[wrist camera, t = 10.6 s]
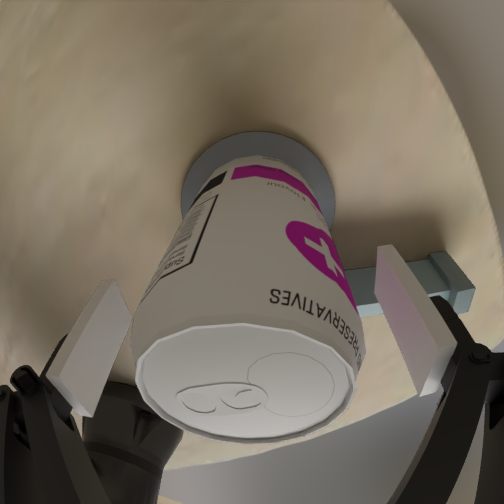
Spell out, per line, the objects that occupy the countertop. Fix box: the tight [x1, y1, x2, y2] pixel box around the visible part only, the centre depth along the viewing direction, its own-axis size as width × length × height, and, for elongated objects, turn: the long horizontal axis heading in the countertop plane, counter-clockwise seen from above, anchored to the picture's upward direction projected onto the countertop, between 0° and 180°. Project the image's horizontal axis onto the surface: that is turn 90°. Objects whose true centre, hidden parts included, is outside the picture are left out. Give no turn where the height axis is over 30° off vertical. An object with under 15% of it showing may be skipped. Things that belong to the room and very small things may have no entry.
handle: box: [344, 251, 476, 318], centre depth 23 cm, size 20×2×6 cm, turn 99°
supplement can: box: [130, 155, 366, 445], centre depth 15 cm, size 8×8×15 cm
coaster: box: [181, 131, 335, 231], centre depth 22 cm, size 11×11×1 cm
